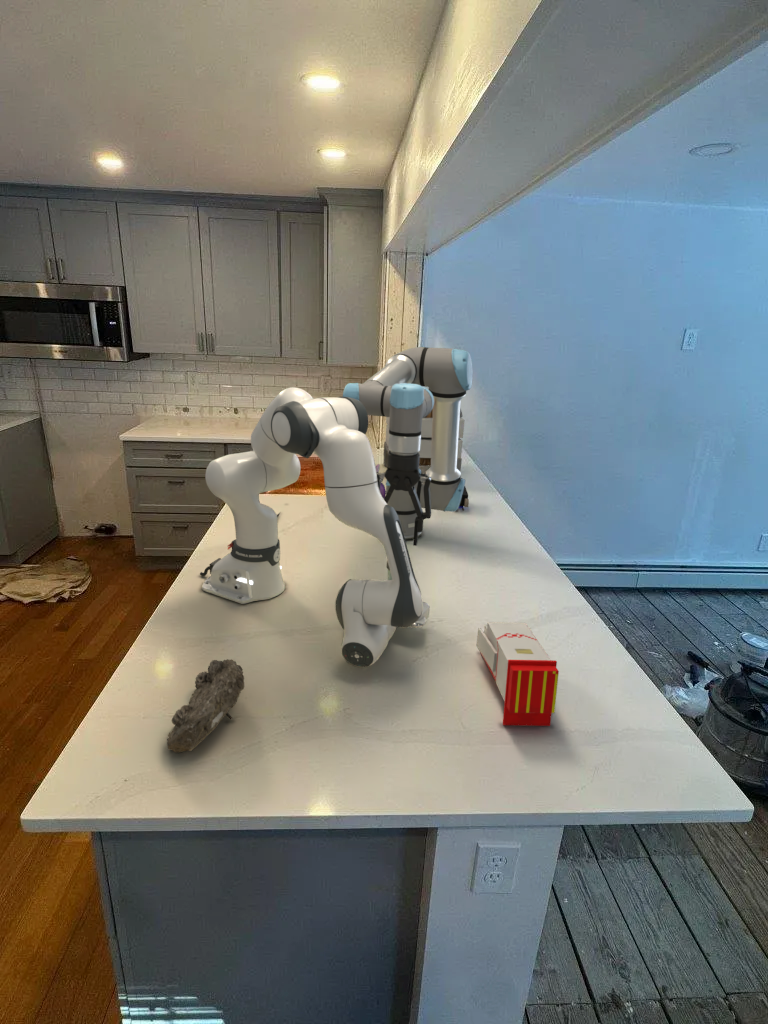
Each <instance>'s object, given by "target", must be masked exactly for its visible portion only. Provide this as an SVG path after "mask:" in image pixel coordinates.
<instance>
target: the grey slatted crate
mask: <svg viewBox="0 0 768 1024" xmlns="http://www.w3.org/2000/svg"><path fill="white" fill-rule="evenodd" d="M432 417H433V409H432V410H431V412H430V413H429V414H428V416H426V417H424V418H422V427H421V444H420V451H419V452H418V453H419V454H420V460H419V467H431V443H432ZM389 419H390V417H385V423H386V428H385V438H384V442H383V466H384V467H387V460H388V452H389V451H390V450H389V449H388V438H389ZM464 429H465V419H464V418H463V411H462V408H461V407H460V420H459V436H458V452H457V469H458V470H459V471H460V473H461V472H462V461H463V460H462V453H463V442H464V441H463V440H462V439H463V438H464V431H465V430H464ZM461 474H462V473H461Z"/></svg>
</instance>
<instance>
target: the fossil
mask: <svg viewBox="0 0 768 1024" xmlns="http://www.w3.org/2000/svg"><path fill="white" fill-rule="evenodd" d="M243 670H244V669H243V667H242V665H240V664H237V662H236V661H235V660H234V659H232V658H231V659H227V658H226V659H224V660H223V661H222V660H217V659H212V660H211V661H210V663H209V665H208V666H207V671H201V672H199V673H198V674H197V675H196V676H195V680H194V684H195V685H194V687H195V689H194V690H193V693H192V694H191V697H190V698H189V700H188V704H184V705H182V706H181V707H180V709H177V710H176V711H175V713H174V715H173V716H172V718H171V723H172V724H173V727H172V730H171V731H170V732H168V734H167V738H166V741H167V742H166V745H167V749H168V750H169V751H173V752H174V753H176V754H178V753H182V752H188V751H189V752H192V751H193V750H195V748H196V747H197V746H199V744H200V743H201V742H203V741H204V740H205V739H206V738H207V737H208V736H209V735H210V734H211V733H212V732H214V730H215V729H217V727H218V726H219V724H220V722H221V721H222V720H223V719H224V718H225V716H226V717H227V719H229V720H233V717H232V715H230V714H229V710H230V709H231V708H234V706H235V704H236V703H237V702H238V699H239V697H240V695H241V693H242V691H243V690H245V689H244V688H245V675H244V671H243Z"/></svg>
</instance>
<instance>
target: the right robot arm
mask: <svg viewBox="0 0 768 1024" xmlns="http://www.w3.org/2000/svg"><path fill="white" fill-rule="evenodd" d="M473 373H474V371H473V361H472V356H471V354H470V352H469V351H467V350H465V349H457V348H456V347H455V348H451V347H450V348H449V347H427V346H416V347H411V348H407V349H405V350H402V351H399V352H397V353H395V354H394V355H392V356H390V357H389V358H388V360H386V362H385V365H384V366H383V367H382V368H381V369H380V370H379V371H377V372H376V373H374V374H373V375H372V376H370V377H369V378H368V379H367V380H366V381H364V382H363V383H359V382H352V383H351V382H348V383H347V384H346V385H345V386H344V389H343V391H342V397H350V398H354V399H356V400H358V401H360V402H361V403H362V404H363V406H364V407H365V409H366V411H367V415H368V416H374V417H384V418H386V417H390V419H389V438H388V449H389V450H390V451H389V452H388V460H387V466H386V470H385V472H377V481H378V487H379V490H380V486H381V483H383V482H384V479H386V482H385V490H386V495H385V498H384V500H385V502H386V503H387V504H388V505H389V506H391V507H393V508H394V509H395V511H396V513H397V515H398V518H399V520H400V524H401V527H402V530H403V534H404V537H405V541H410V540H413V544H412V545H413V546H415V547H416V546H417V545H418V539H419V538H420V537H421V536H422V535H423V529H424V520H426V519H427V520H429V519H430V518H431V517H432V510H434V511H442V512H452V513H454V512H457V511H458V509H459V508H458V507H459V505H460V502H461V498H462V494H463V490H464V486H465V487H466V485H465V484H466V479H465V478H463V477H461V475H462V473H460V471H459V470H458V469H457V452H458V436H459V420H460V408H461V401H462V399H463V398H465V397H466V395H467V391H470V390H471V389H472V387H473ZM432 409H433V417H432V443H431V465H430V466H429V468H427V470H426V471H425V473H422V469H421V468H420V466H419V460H420V454H419V453H418V452H419V451H420V444H421V427H422V418H424V417H426V416H428V414H429V413H430V412H431V410H432ZM423 509H424V511H423ZM456 510H457V511H456Z"/></svg>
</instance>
